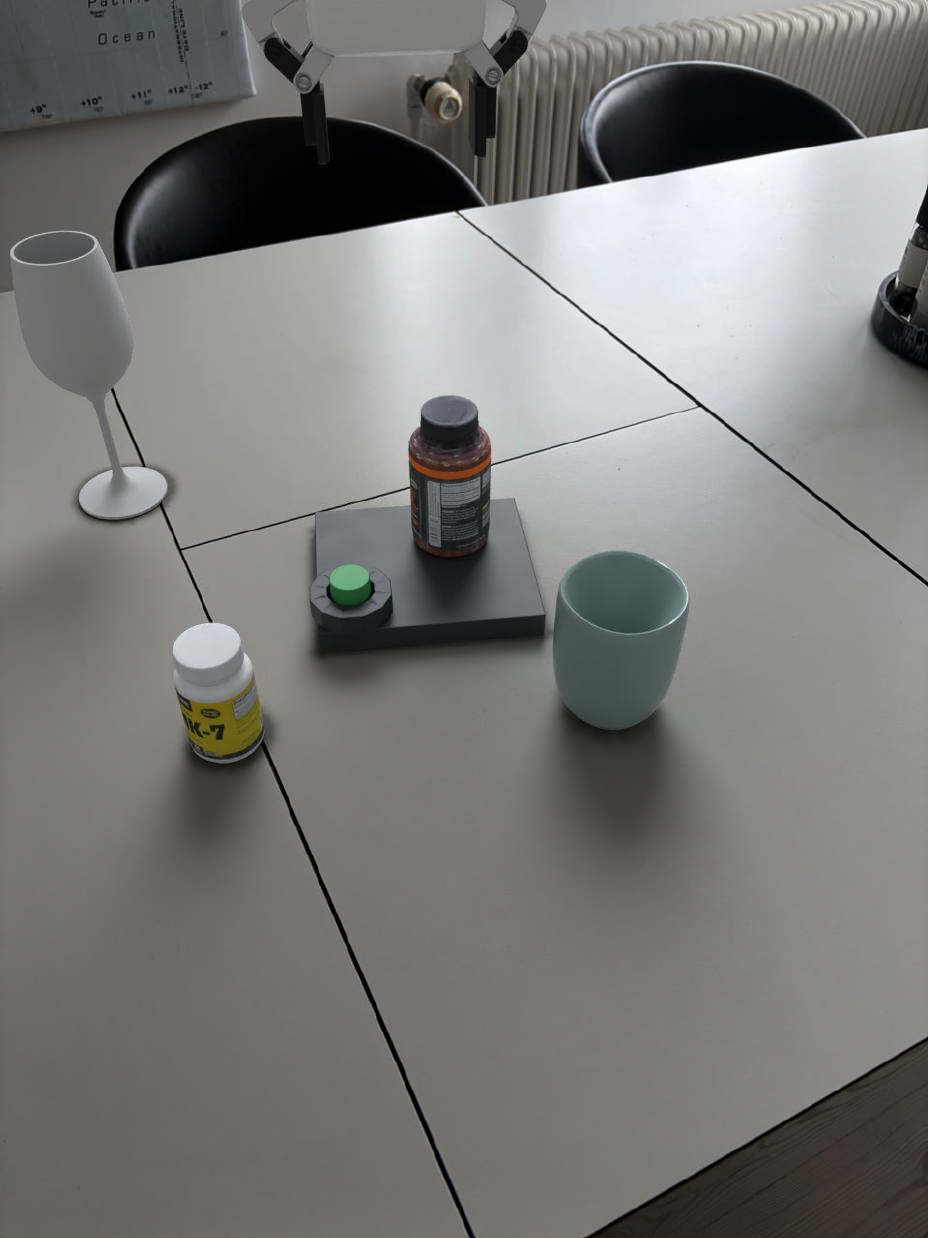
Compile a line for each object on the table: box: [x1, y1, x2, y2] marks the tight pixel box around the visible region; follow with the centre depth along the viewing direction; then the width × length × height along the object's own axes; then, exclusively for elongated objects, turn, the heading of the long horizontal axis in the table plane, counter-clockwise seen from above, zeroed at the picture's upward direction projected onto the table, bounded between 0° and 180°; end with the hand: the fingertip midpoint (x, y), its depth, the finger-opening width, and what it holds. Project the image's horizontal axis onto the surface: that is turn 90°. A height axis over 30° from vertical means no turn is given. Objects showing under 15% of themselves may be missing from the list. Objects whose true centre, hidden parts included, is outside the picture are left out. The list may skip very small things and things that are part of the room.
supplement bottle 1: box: [172, 622, 265, 764], centre depth 62 cm, size 5×5×8 cm
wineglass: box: [9, 230, 169, 521], centre depth 77 cm, size 8×8×21 cm
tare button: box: [329, 565, 371, 606], centre depth 70 cm, size 3×3×2 cm
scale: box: [309, 497, 547, 654], centre depth 75 cm, size 16×14×4 cm
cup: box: [552, 550, 691, 731], centre depth 64 cm, size 8×8×10 cm
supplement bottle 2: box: [407, 394, 492, 558], centre depth 73 cm, size 6×6×11 cm
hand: (400, 153), depth 63 cm, fingers open, 9 cm apart
